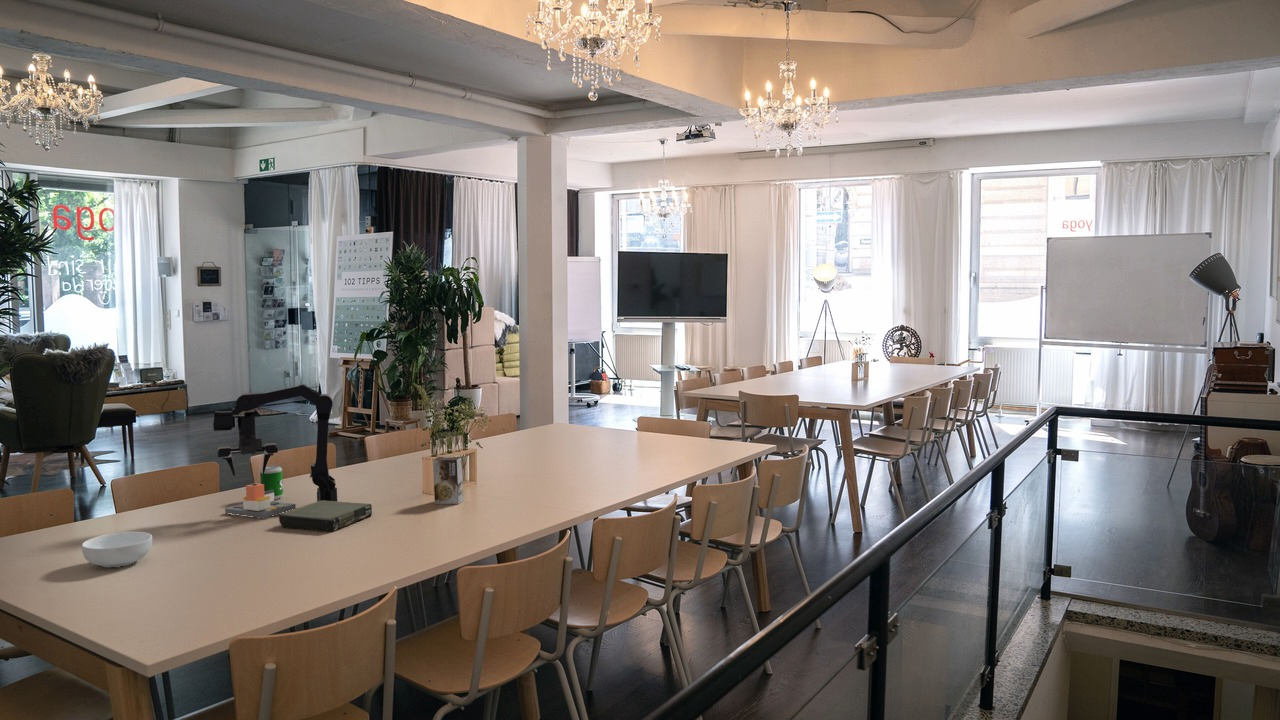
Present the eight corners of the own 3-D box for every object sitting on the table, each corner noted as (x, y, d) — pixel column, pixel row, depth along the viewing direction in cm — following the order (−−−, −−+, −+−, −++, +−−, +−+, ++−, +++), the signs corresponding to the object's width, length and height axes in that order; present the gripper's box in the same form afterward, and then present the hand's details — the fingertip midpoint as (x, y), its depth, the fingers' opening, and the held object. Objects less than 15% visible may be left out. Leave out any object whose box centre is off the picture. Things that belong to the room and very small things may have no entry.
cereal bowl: (74, 576, 234) (72, 550, 234) (94, 558, 250) (92, 534, 250) (144, 569, 239) (143, 544, 239) (159, 552, 255) (158, 529, 255)
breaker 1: (270, 507, 299) (269, 496, 298) (258, 510, 294) (257, 499, 294) (255, 505, 302) (254, 494, 301) (243, 509, 297) (242, 497, 297)
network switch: (339, 534, 274) (339, 518, 274) (273, 531, 278) (272, 515, 278) (376, 515, 297) (375, 501, 296) (314, 513, 301) (313, 499, 301)
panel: (295, 509, 305) (295, 502, 305) (263, 519, 293) (263, 511, 292) (258, 505, 313) (258, 498, 313) (225, 514, 300) (225, 506, 300)
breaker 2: (274, 500, 309) (273, 489, 308) (262, 503, 304) (262, 492, 304) (260, 499, 312) (259, 488, 311) (248, 502, 307) (248, 490, 307)
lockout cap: (264, 498, 299) (263, 482, 298) (255, 501, 295) (254, 484, 295) (256, 497, 300) (255, 481, 300) (246, 500, 297) (245, 484, 296)
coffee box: (464, 500, 316) (462, 456, 315) (458, 504, 310) (457, 459, 308) (439, 499, 317) (438, 456, 316) (433, 504, 310) (432, 459, 309)
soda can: (278, 501, 318) (276, 468, 318) (257, 501, 319) (256, 469, 318) (286, 496, 326) (285, 464, 325) (266, 496, 326) (265, 465, 325)
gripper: (216, 435, 289) (218, 481, 290) (277, 431, 297) (279, 476, 298) (217, 430, 299) (219, 475, 300) (275, 426, 307) (277, 470, 308)
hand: (248, 474), depth 301 cm, fingers open, 9 cm apart
